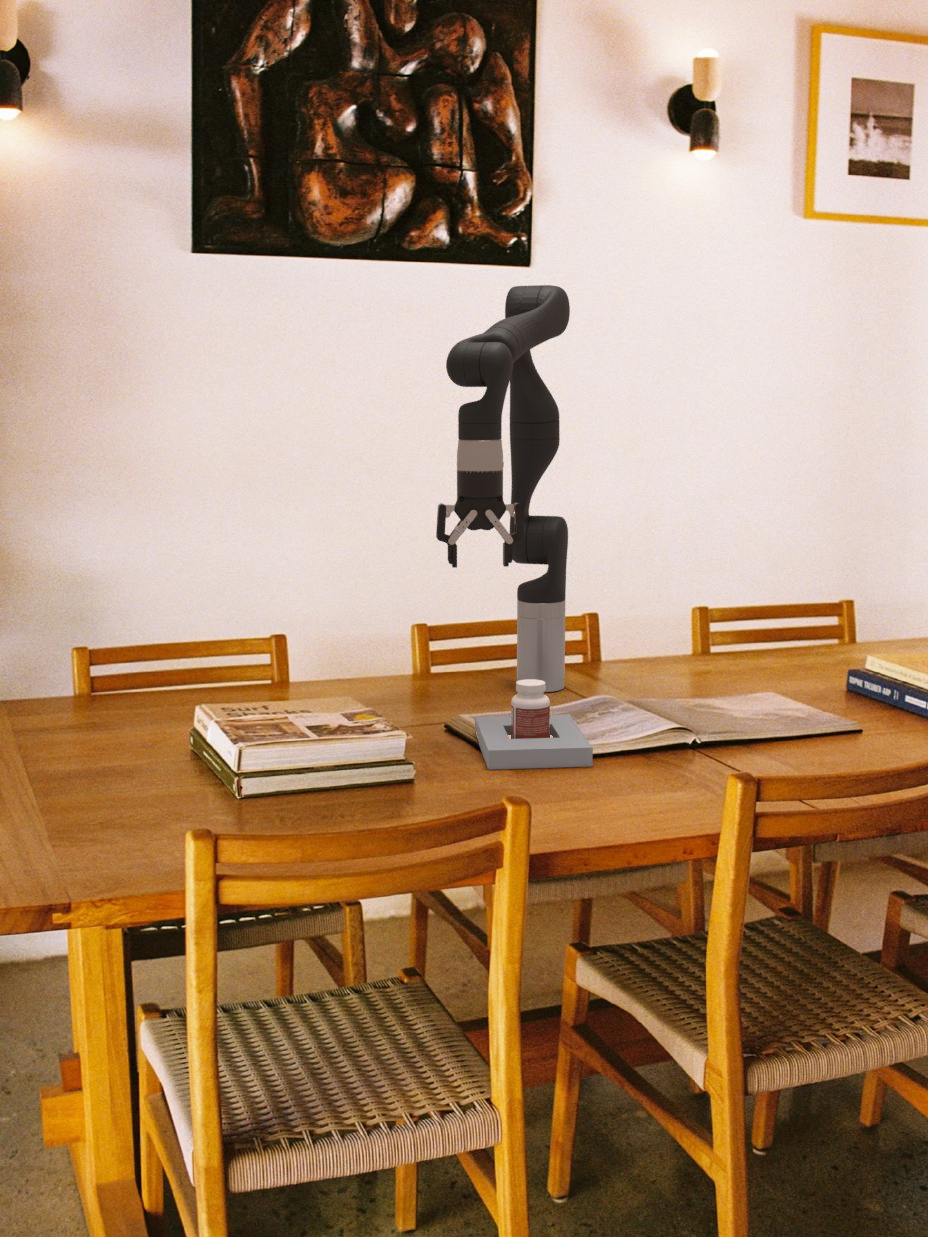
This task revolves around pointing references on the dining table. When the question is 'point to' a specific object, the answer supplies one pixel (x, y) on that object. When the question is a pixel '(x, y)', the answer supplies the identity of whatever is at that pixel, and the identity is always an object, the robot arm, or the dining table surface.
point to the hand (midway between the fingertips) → (480, 566)
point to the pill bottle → (530, 710)
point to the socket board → (533, 745)
